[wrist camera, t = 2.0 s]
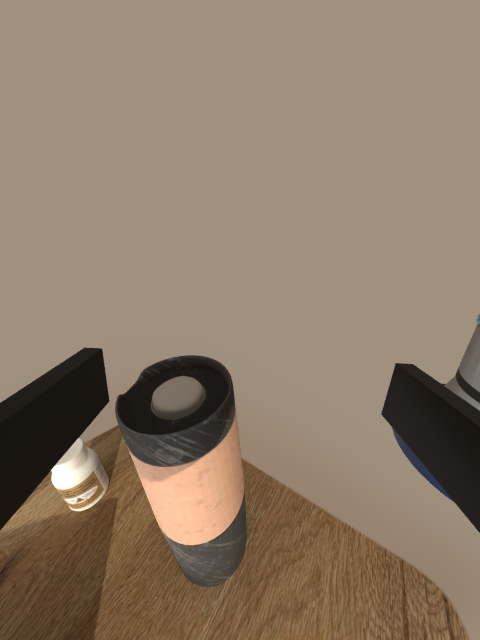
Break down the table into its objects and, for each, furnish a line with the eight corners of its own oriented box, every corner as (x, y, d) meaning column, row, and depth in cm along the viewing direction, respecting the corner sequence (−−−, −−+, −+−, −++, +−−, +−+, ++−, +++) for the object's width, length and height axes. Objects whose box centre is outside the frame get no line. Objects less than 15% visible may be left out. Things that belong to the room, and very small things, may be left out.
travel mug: (264, 553, 23) (257, 398, 14) (189, 618, 19) (118, 468, 11) (227, 482, 29) (206, 343, 20) (165, 523, 25) (108, 377, 17)
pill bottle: (66, 520, 26) (35, 479, 23) (72, 483, 30) (46, 443, 27) (109, 500, 28) (86, 458, 25) (110, 467, 32) (90, 427, 28)
